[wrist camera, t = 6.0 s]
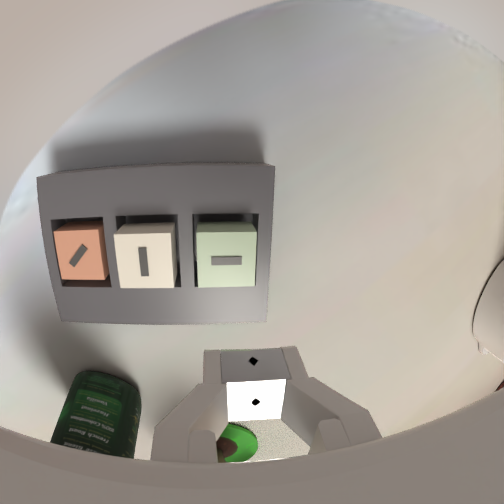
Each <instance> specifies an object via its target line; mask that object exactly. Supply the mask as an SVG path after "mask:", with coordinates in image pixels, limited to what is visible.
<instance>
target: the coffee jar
mask: <svg viewBox="0 0 504 504" xmlns="http://www.w3.org/2000/svg"><path fill="white" fill-rule="evenodd" d="M140 415H141V398H140V395H139V393H138V391H137V390H136V389H135V388H134V387H132V386H131V385H130V384H128V383H126V382H124V381H122V380H121V379H119V378H116V377H114V376H111V375H109V374H105V373H101V372H93V371H85V372H81V373H79V374H78V375H77V376H76V377H75V379H74V381H73V384H72V386H71V388H70V391H69V393H68V396H67V398H66V401H65V403H64V406H63V409H62V411H61V414H60V417H59V419H58V422H57V425H56V427H55V430H54V433H53V435H52V438H51V441H50V443H53V444H57V445H61V446H65V447H69V448H74V449H78V450H83V451H88V452H93V453H98V454H104V455H110V456H117V457H124V458H131V459H134V452H135V445H136V439H137V434H138V428H139V421H140Z"/></svg>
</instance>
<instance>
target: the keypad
mask: <svg viewBox="0 0 504 504" xmlns="http://www.w3.org/2000/svg"><path fill="white" fill-rule="evenodd" d="M274 179H275V166H272V165H269V164H266V163H228V162H203V163H162V164H141V165H125V166H111V167H99V168H89V169H79V170H70V171H62V172H56V173H51V174H47V175H43V176H40V177H37V192H38V203H39V212H40V221H41V228H42V235H43V241H44V247H45V253H46V259H47V264H48V269H49V273H50V278H51V283H52V287H53V291H54V295H55V299H56V303H57V307H58V310H59V314H60V318H61V321H68V322H85V323H108V324H151V325H184V324H228V323H252V322H266V320H267V305H268V289H269V273H270V256H271V238H272V220H273V200H274ZM100 220H103V224H104V234H105V243H106V251H107V259H108V266H109V274H108V276H107V277H106V279H105V280H71V279H62V277H61V272H60V267H59V262H58V256H57V250H56V244H55V238H54V231H55V230H57V229H58V228H60V227H61V226H63V225H64V224H66V223H68V222H80V221H100ZM170 222H175V236H176V256H177V276H176V281H175V286H174V288H120V281H119V274H118V267H117V259H116V251H115V242H114V234H115V233H116V232H117V231H118V230H119V229H120V228H121V227H122V226H123V225H124V224H133V223H170ZM198 222H251V223H252V224H253V226H254V228H255V230H256V231H257V240H256V265H255V286H245V287H205V288H198V271H197V238H196V232H197V223H198Z"/></svg>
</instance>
